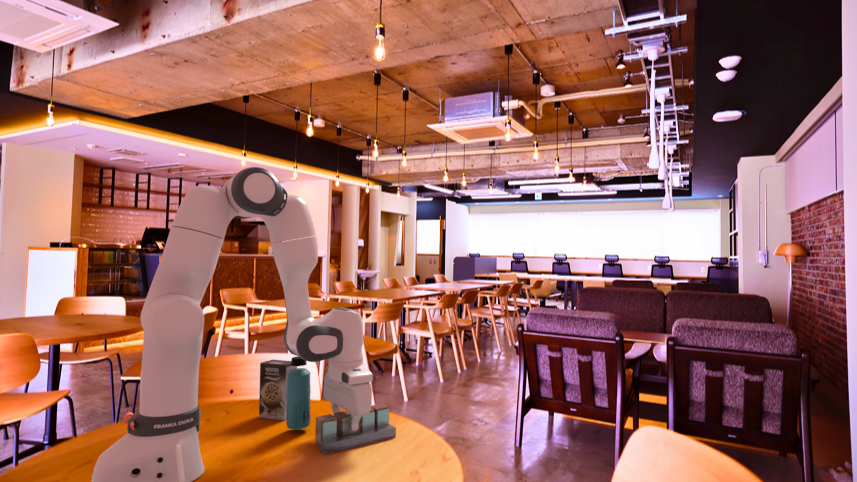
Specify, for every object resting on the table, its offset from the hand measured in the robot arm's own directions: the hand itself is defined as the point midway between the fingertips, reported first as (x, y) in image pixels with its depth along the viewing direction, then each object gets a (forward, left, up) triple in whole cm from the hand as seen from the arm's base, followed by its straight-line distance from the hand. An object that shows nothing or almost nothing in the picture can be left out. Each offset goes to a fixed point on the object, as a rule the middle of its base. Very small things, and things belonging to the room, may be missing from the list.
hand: (345, 424), depth 122 cm
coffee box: (-7, +30, -4) cm, 31 cm away
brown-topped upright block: (0, 0, -4) cm, 4 cm away
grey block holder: (+2, -2, -4) cm, 5 cm away
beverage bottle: (-7, +14, -4) cm, 16 cm away
